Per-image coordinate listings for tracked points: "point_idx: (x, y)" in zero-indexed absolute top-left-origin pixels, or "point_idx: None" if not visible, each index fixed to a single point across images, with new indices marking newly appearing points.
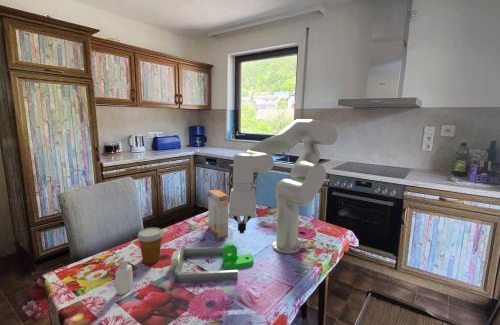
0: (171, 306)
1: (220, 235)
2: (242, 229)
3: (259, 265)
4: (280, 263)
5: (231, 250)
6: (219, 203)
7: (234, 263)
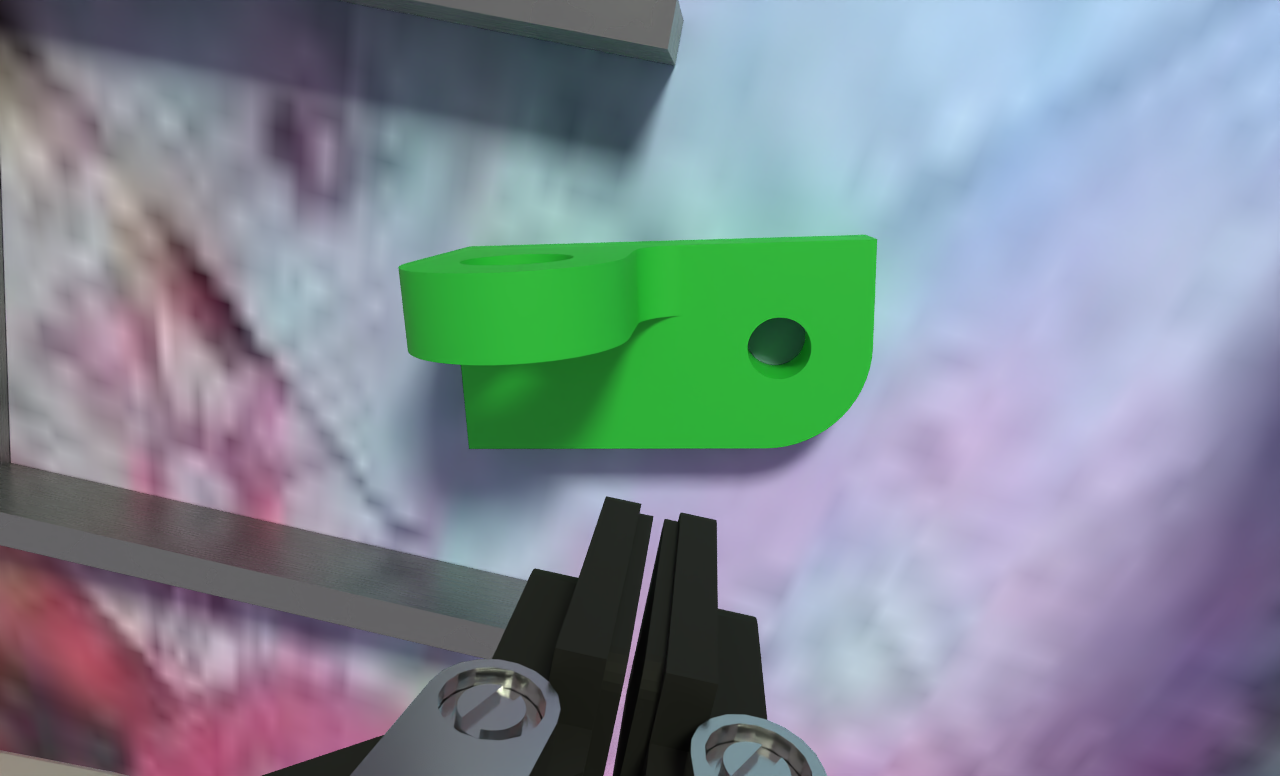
0: None
1: None
2: (614, 769)
3: (900, 453)
4: (1188, 492)
5: (622, 46)
6: None
7: (577, 426)
